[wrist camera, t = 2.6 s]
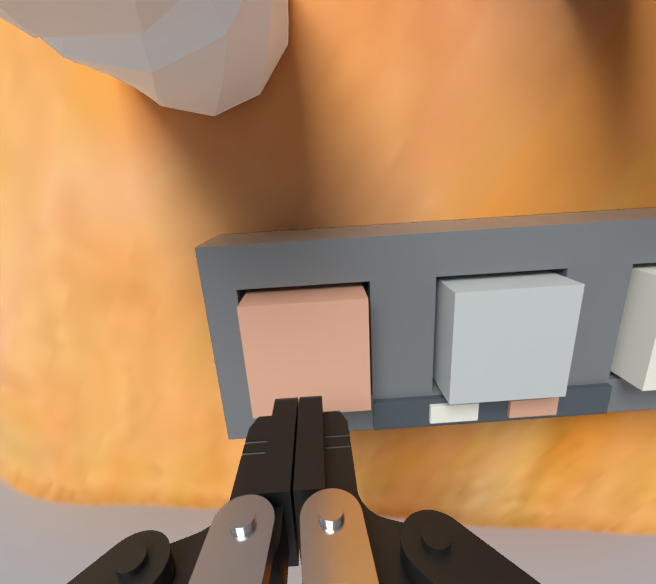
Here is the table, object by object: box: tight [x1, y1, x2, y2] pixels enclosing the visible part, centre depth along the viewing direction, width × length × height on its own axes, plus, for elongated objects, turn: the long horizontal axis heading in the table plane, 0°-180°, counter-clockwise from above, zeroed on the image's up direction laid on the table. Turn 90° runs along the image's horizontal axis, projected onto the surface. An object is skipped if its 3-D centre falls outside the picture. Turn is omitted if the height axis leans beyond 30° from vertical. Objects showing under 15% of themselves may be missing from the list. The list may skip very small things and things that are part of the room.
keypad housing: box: [195, 207, 656, 439], centre depth 18 cm, size 27×10×4 cm, turn 93°
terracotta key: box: [237, 282, 371, 418], centre depth 16 cm, size 5×5×3 cm
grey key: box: [433, 270, 585, 405], centre depth 16 cm, size 5×5×3 cm
